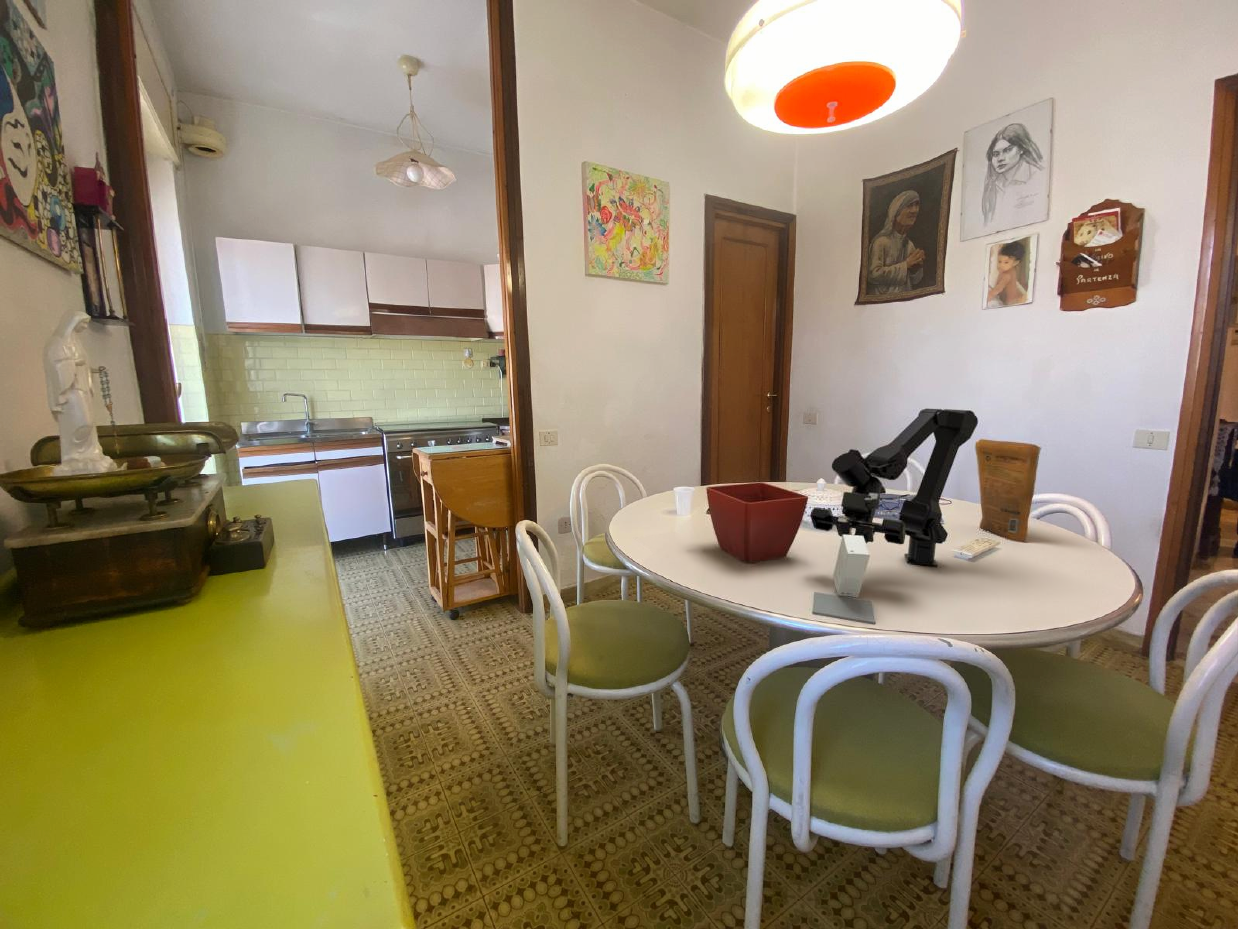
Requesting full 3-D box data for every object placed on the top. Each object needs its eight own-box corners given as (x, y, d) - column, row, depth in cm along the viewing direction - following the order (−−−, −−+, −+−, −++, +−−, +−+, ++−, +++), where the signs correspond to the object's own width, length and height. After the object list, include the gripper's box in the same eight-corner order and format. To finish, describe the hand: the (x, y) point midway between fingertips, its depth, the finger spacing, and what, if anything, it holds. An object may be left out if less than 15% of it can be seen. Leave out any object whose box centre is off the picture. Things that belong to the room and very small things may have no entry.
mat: (814, 593, 105) (814, 591, 105) (871, 602, 101) (871, 600, 101) (812, 613, 96) (812, 611, 96) (875, 624, 92) (875, 622, 92)
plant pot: (806, 560, 125) (810, 495, 122) (744, 570, 118) (747, 502, 115) (759, 538, 143) (762, 481, 140) (702, 546, 136) (704, 487, 133)
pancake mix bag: (1016, 545, 136) (1030, 445, 131) (963, 525, 155) (973, 437, 150) (1039, 544, 136) (1053, 444, 132) (983, 524, 155) (994, 437, 150)
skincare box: (859, 598, 102) (870, 555, 96) (837, 596, 103) (847, 554, 96) (853, 576, 107) (863, 535, 100) (832, 575, 108) (841, 533, 101)
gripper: (815, 472, 112) (796, 529, 105) (909, 483, 101) (893, 548, 94) (823, 500, 119) (805, 555, 113) (911, 513, 108) (896, 575, 101)
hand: (846, 557), depth 105 cm, fingers closed
